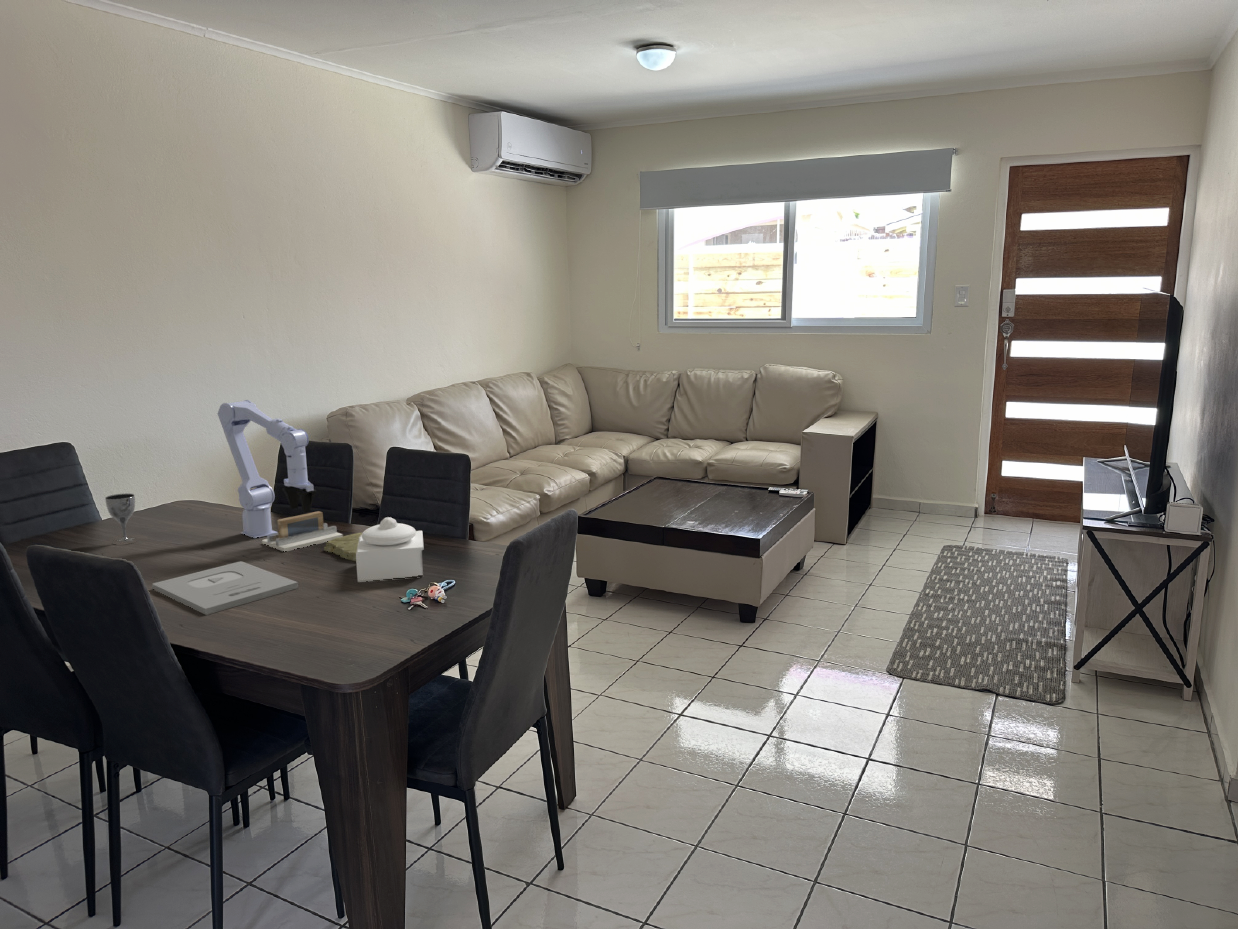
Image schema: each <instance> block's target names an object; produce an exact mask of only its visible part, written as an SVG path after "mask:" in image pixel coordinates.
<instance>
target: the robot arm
mask: <svg viewBox="0 0 1238 929" xmlns="http://www.w3.org/2000/svg"><path fill="white" fill-rule="evenodd" d="M217 416H218V419H219V421H220V425H221V427H222V429H223V433H224V437H225V438H226V442H227V444H228V447H229V449H230V452H231V455H232V458H233V460H234V463H235V466H236V469H237V472H238V473H239V477H240V478H241V484H240V485H239V487H237V492H238V498H239V499H238V501H239V503H240V506H241V507H242V508H243V510H242V516H241V517H242V527H243V531H241V532H240V534H242V535H244V534H245V536H248V537H250V538H252V537H253V539H258V538H257V537H259V538H262V537H267V536H269V535H273V534H278V531H275V530H273V527H272V515H271V507H272V505H273V503H274V501H275V497H276V496H275V491H274V489H273V488H272V487H271V486H270V484H269V481H268V480H266V479H265V478H263V477H261V476H260V473H259V472H258V469H257V466H256V463H255V460H254V458H253V455H252V452H251V450H250V447H249V444H248V441H247V439H246V436H245V433H244V431H245V428H247V427H248V425H249V424H250V423H251V422H253V423H255V424H257V425H259V426H261V427H262V428H264V429H265V432H266V433H267V435H269V436H270V437H272V438H274V439H275V440H277V441H278V442H280V444H281V446H282V448H283V451H284V454H285V456H286V468H287V478H284V479H283V483H284V484H283V485H284V486H283V487H282V488H281V490H282V492H283V494H284V495H285V497H286V500H287V502H288V505H289V508H290V509H292V510H294V509H298V507H299V500H300V504H301V509H302V513H303V514H307V513H311V511H312V504H313V500H314V498H315V495H316V493H317V490H316V489H314V484H313V483H311V482H310V481H309V480H308V478H309V476H308V466H307V454H306V447H307V446H308V445H309V440H310V439H309V438H310V437H309V435H308V433H307V431H305V430H304V429H303V428H294V426H292V425H290V424H288V423H286V422H284V420H283V419H282V418H271V417H270V416H269V415H267V414H266V413H264V412H263V411H262V410H260V409H259V408H258V407H257V405H256V403H255V402H252V401H251V400H249V399H246V400H241V401H234V402H223V403H222V404H220V405H219V408H218V411H217Z"/></svg>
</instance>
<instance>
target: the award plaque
mask: <svg viewBox="0 0 1238 929" xmlns="http://www.w3.org/2000/svg"><path fill="white" fill-rule="evenodd" d="M151 586H152V587H151V588H152V590H153V589H156V590H157V591H158V592H157V591H156V592H157V593H159V592H161V593H162V594H161V593H160V594H161V595H163V594H164V595H163V596H165V595H166V596H165V597H167V596H168V598H169V597H170V599H171V598H172V600H174V599H175V600H174V601H175V602H177V603H180V602H181V603H180V604H182V603H183V605H185V606H187V607H188V606H189V607H188V608H190V607H191V609H192V608H193V610H195V611H197V612H198V613H201V614H203V615H205V616H207V615H208V616H209V615H212V614H215V613H217V612H222V611H224V610H225V611H226V610H228V609H232V608H235V607H239V606H242V605H245V604H249V603H252V602H255V601H259V600H262V599H263V600H264V599H265V598H269V597H272V596H275V595H279V594H282V593H287V592H290V591H293V590H296V589H299V584H298V581H295V580H293V579H290V578H287V577H284V576H282V575H280V574H278V573H274V572H271V571H269V570H265V569H263V568H261V567H258V566H255V565H252V564H251V563H247V562H244V561H243V560H242V561H236V562H233V563H232V562H231V563H227V564H225V565H221V566H217V567H212V568H208V569H204V570H201V571H197V572H193V573H192V572H191V573H189V574H185V575H184V574H183V575H182V576H178V577H173V578H170V579H165V580H162V581H156V582H154V583H151Z"/></svg>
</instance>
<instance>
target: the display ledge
mask: <svg viewBox="0 0 1238 929" xmlns="http://www.w3.org/2000/svg"><path fill="white" fill-rule="evenodd" d="M323 525H324V528H322V529H318V530H313V531H309V532H304V533H300V534H296V535H291V536H287V537H283V538H279V532H277V534H272V535H268V536H266V538H265V539H262V540H261V544H262V545H264V544H266V545H265V546H267V545H269V546H268V547H270V548H272V547H273V549H275V548H276V550H278V551H280V552H283V551H284V553H286V552H285V551H287V552H292V551H295V550H298V549H297V548H300V549H303V547H304V548H307V546H308V547H311V546H310V545H312V546H314V545H313V544H316V545H320V544H324V543H326V542H327V541H331V540H332V539H335V538H340V537H343V536H344V534H343V533H340V532H338V531H337V530H338V529H337V527H338V526H336V525H331V526H328V523H326V522H323ZM294 549H295V550H294Z"/></svg>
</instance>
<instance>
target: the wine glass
mask: <svg viewBox="0 0 1238 929" xmlns="http://www.w3.org/2000/svg"><path fill="white" fill-rule="evenodd" d="M105 504H106V509H107V511H108V514H109V515H110V516H111V517H112V518H113V519H114V520H115V521H117V522H118V523H119V525H120V526H121V529H122V534H123V535H122V536H123V538H122V539H119V541H133V540H132V539H133V538H128V537H127V533H126V532H127V531H126V528H127V523H128V521H129V520H130V519H131V517H132V516H133V514H134V512H135V508H136V507H135V506H136V498H135V494H134V493H129V492H128V493H117V494H111V495H108V496H105Z"/></svg>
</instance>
